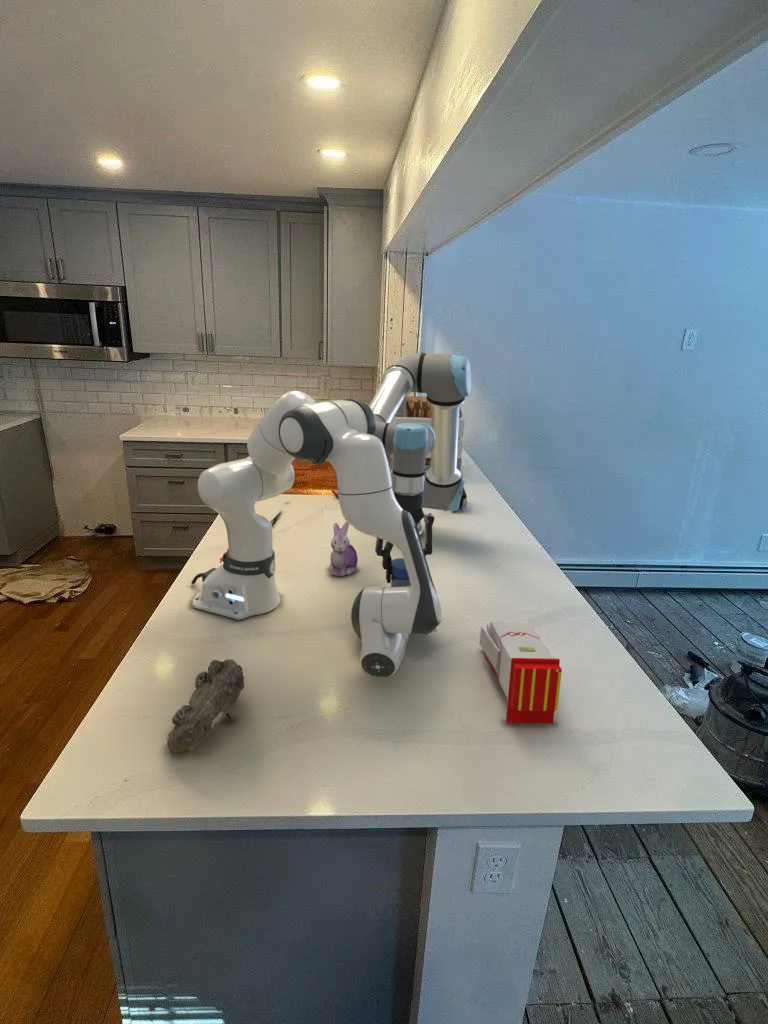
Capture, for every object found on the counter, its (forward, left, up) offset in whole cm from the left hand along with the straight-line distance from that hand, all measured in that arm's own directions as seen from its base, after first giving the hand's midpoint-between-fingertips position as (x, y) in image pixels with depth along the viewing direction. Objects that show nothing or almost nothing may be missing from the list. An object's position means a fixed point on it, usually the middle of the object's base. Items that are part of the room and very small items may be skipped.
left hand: (401, 598), depth 142 cm
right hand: (0, -1, +6) cm, 6 cm away
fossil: (-29, -44, -6) cm, 53 cm away
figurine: (-21, +24, -6) cm, 33 cm away
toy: (+28, -19, -6) cm, 34 cm away
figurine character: (+8, +93, -6) cm, 94 cm away
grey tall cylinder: (0, -1, -6) cm, 6 cm away
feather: (-56, +64, -6) cm, 85 cm away
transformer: (-13, +138, -6) cm, 139 cm away
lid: (0, -1, +10) cm, 10 cm away
